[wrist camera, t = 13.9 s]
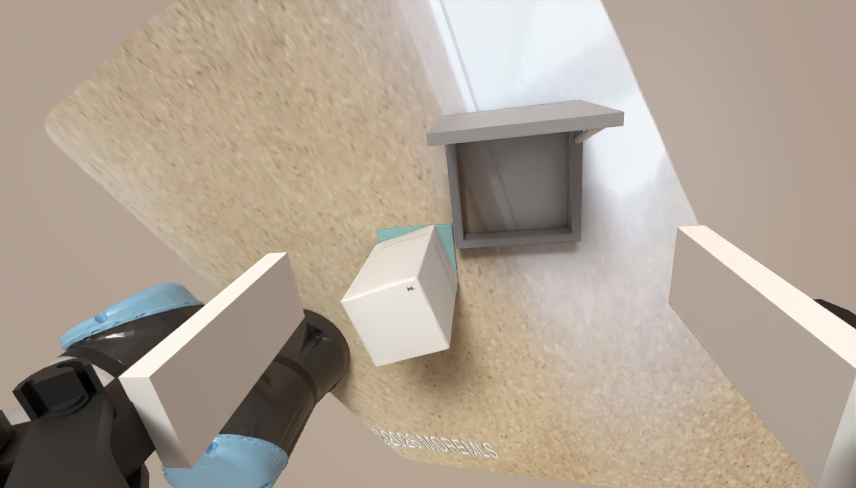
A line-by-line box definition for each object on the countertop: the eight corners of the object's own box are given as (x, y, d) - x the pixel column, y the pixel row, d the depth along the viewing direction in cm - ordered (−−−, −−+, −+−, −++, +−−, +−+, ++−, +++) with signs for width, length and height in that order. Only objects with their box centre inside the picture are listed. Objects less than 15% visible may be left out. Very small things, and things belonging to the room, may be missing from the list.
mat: (389, 294, 58) (388, 295, 57) (377, 229, 54) (376, 230, 54) (458, 291, 56) (458, 292, 56) (451, 223, 52) (451, 224, 52)
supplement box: (373, 243, 54) (336, 300, 41) (435, 222, 52) (417, 275, 38) (400, 299, 57) (373, 369, 44) (459, 281, 55) (451, 350, 41)
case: (457, 241, 53) (447, 304, 38) (444, 115, 47) (426, 133, 33) (576, 233, 51) (613, 298, 36) (578, 99, 45) (624, 111, 30)
